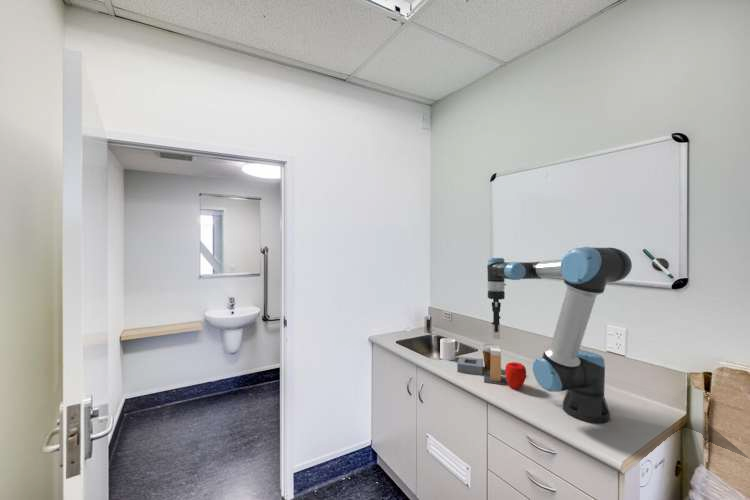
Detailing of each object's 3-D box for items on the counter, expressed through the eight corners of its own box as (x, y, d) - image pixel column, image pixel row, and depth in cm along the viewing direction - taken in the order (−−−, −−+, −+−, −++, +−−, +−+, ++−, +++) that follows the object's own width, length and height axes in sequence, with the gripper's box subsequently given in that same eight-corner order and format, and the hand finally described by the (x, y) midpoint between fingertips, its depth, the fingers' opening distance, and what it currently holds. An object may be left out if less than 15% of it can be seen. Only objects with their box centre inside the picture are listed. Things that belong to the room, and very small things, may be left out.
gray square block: (482, 375, 160) (482, 366, 160) (457, 371, 164) (457, 363, 164) (483, 366, 171) (483, 359, 171) (459, 363, 175) (459, 356, 175)
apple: (524, 393, 140) (524, 368, 140) (503, 388, 144) (503, 364, 144) (527, 386, 147) (527, 362, 147) (507, 381, 152) (507, 358, 152)
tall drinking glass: (500, 381, 151) (500, 351, 151) (490, 380, 153) (490, 350, 153) (500, 377, 155) (500, 348, 155) (490, 376, 157) (490, 347, 157)
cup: (463, 358, 184) (463, 340, 184) (445, 360, 180) (445, 342, 180) (455, 354, 192) (455, 337, 192) (437, 356, 188) (437, 338, 188)
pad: (507, 385, 148) (507, 384, 148) (483, 382, 151) (483, 381, 151) (506, 377, 157) (506, 376, 157) (484, 374, 160) (484, 373, 160)
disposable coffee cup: (481, 371, 164) (482, 348, 164) (481, 365, 173) (481, 342, 173) (502, 373, 161) (502, 349, 161) (500, 367, 170) (500, 344, 170)
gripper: (505, 293, 141) (505, 342, 141) (503, 288, 164) (504, 330, 164) (487, 292, 143) (487, 341, 143) (488, 287, 167) (488, 329, 167)
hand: (496, 335), depth 154 cm, fingers open, 13 cm apart
